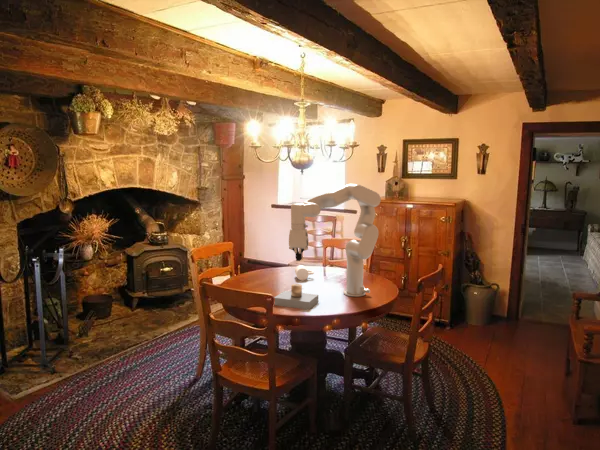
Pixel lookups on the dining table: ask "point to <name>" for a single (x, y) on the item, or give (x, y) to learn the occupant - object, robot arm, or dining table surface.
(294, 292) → the maple peg
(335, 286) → the dining table surface
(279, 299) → the grey block with hole
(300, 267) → the mug
